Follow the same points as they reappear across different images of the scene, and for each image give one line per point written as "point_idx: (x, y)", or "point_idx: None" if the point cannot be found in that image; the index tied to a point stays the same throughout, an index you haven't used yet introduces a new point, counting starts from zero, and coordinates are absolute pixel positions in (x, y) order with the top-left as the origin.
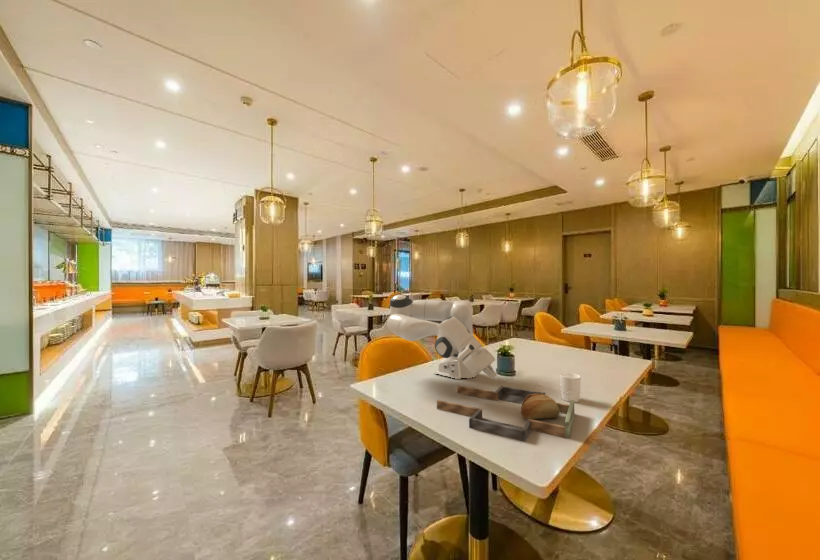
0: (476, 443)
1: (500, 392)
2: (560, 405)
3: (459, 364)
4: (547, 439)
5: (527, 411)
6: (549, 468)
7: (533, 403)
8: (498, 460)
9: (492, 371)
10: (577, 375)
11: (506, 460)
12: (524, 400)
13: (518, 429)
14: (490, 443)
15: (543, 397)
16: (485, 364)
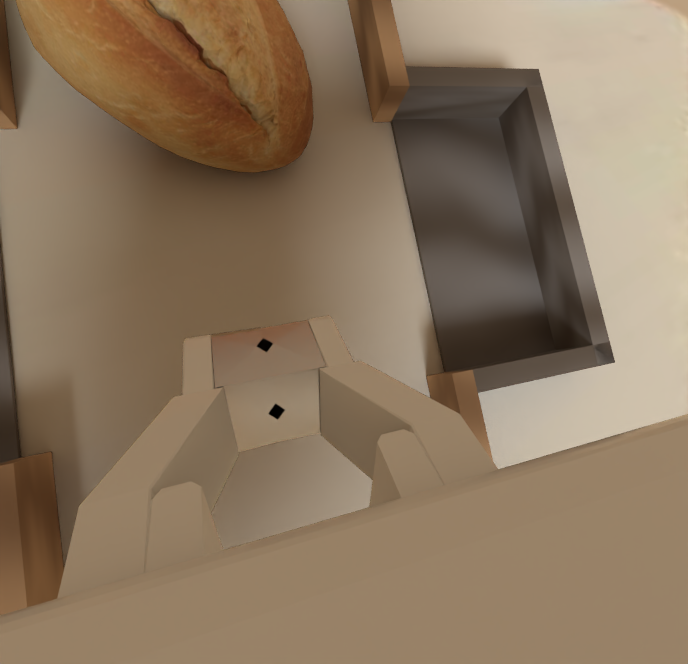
0: (651, 266)
1: None
2: None
3: None
4: (427, 28)
5: (311, 97)
6: (605, 5)
7: (276, 16)
8: (678, 154)
9: (223, 414)
10: None
11: (661, 131)
12: (235, 97)
13: (540, 102)
14: (614, 220)
15: None
16: (631, 499)
